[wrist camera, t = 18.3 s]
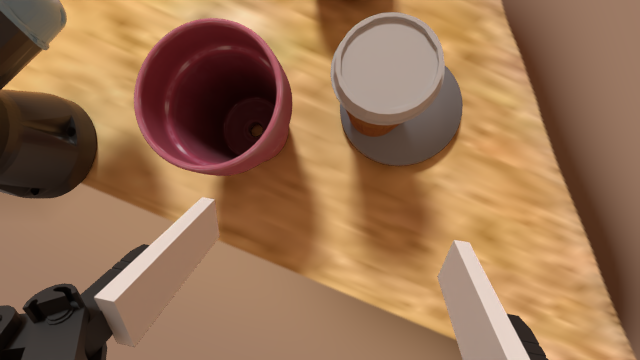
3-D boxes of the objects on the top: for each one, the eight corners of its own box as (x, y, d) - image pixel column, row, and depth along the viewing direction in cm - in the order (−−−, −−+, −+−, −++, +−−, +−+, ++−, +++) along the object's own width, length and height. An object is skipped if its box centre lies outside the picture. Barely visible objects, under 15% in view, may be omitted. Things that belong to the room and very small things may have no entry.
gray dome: (319, 129, 34) (318, 127, 33) (377, 34, 34) (378, 29, 33) (420, 187, 32) (422, 187, 31) (481, 86, 32) (485, 83, 31)
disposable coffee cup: (321, 118, 33) (306, 72, 21) (369, 62, 33) (381, -16, 21) (378, 165, 32) (396, 144, 20) (429, 107, 32) (476, 51, 20)
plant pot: (189, 152, 36) (103, 126, 23) (237, 64, 36) (177, -8, 23) (276, 200, 34) (233, 201, 21) (325, 108, 34) (313, 55, 22)
